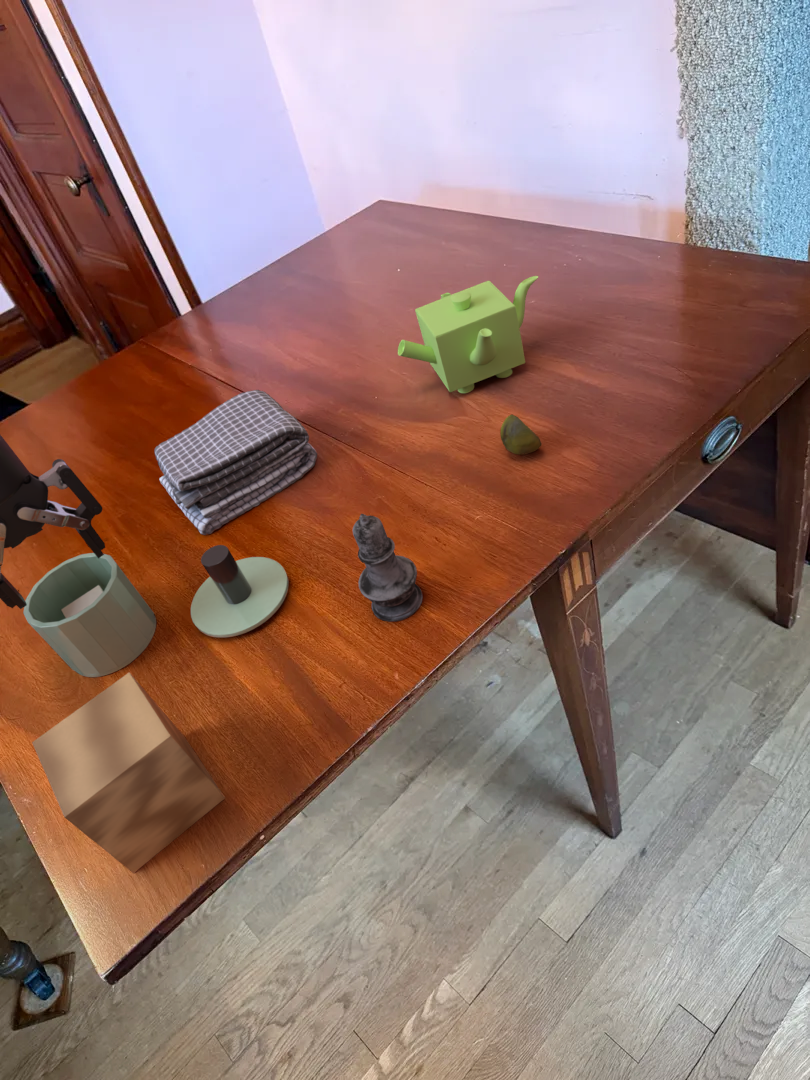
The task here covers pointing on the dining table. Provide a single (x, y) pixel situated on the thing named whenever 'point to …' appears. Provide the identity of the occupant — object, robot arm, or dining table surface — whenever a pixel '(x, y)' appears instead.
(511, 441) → the olive green rock
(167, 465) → the towel
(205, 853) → the dining table surface
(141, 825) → the stand
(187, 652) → the dining table surface
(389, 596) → the chess piece
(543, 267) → the dining table surface
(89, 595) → the block
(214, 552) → the lid
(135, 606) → the pot
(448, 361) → the kettle
